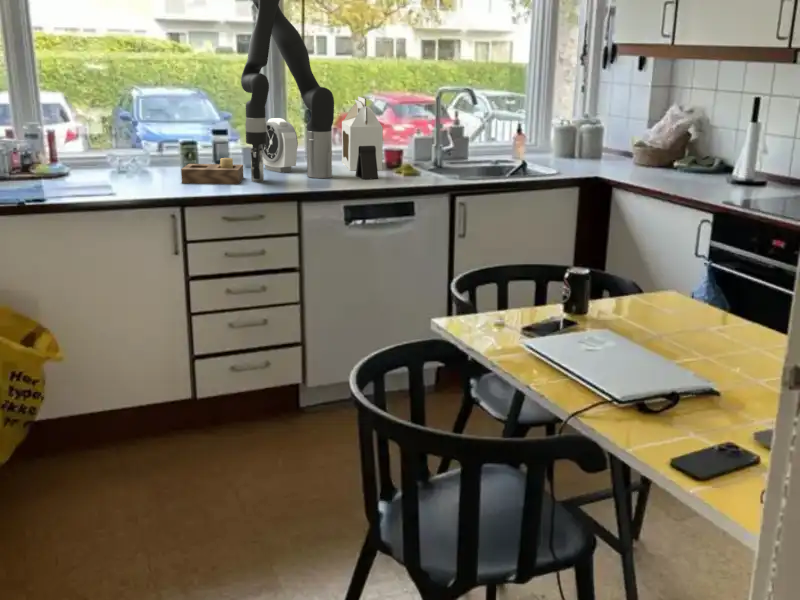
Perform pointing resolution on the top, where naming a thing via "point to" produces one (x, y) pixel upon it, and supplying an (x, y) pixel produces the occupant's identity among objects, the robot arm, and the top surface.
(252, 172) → the steel bushing
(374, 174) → the door stopper
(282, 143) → the alarm clock
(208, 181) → the block
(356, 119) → the gable box
